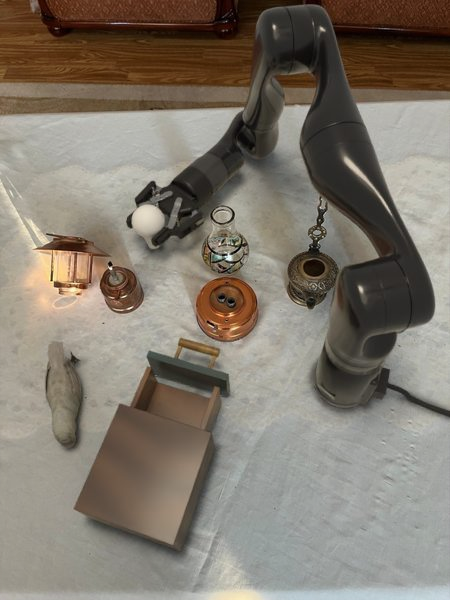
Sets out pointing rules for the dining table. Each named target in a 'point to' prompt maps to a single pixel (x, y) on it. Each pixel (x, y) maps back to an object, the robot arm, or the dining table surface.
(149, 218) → the lightbulb
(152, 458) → the cabinet
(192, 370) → the drawer
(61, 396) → the decorative bird
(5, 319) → the dining table surface
